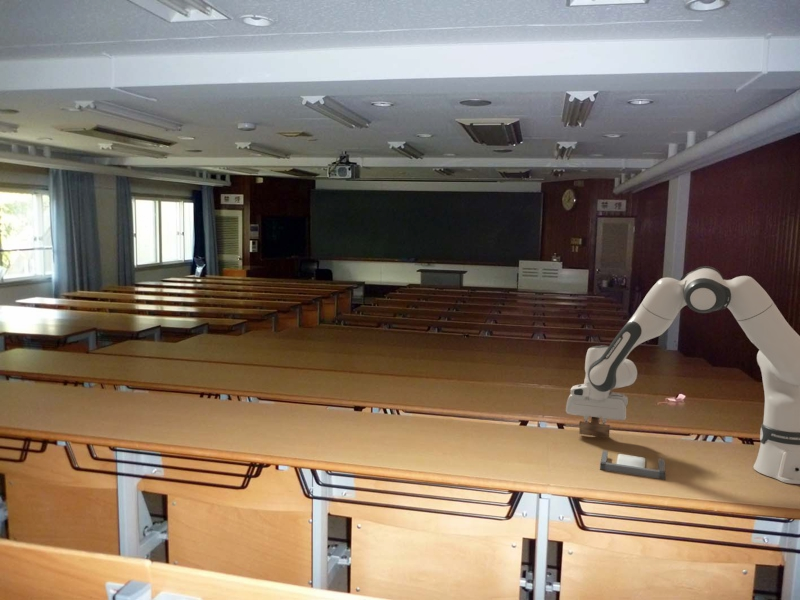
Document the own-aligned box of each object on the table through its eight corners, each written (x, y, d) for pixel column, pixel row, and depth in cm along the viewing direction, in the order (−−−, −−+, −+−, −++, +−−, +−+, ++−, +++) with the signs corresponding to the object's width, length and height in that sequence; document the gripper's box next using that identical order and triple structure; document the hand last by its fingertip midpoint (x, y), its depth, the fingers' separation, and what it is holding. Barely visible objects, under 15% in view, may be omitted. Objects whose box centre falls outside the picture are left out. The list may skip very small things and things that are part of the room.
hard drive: (644, 470, 183) (645, 457, 194) (615, 465, 186) (617, 453, 197) (644, 475, 183) (645, 462, 194) (615, 471, 186) (617, 458, 197)
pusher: (610, 423, 220) (610, 413, 217) (609, 437, 214) (609, 427, 212) (581, 419, 224) (581, 409, 221) (579, 433, 218) (579, 423, 215)
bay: (663, 465, 190) (663, 459, 190) (664, 479, 179) (665, 472, 178) (602, 456, 197) (602, 450, 196) (600, 469, 185) (600, 463, 185)
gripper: (628, 392, 215) (626, 430, 216) (568, 385, 223) (566, 423, 224) (628, 396, 209) (625, 435, 211) (566, 389, 217) (564, 427, 218)
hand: (594, 429), depth 217 cm, fingers closed on pusher, 2 cm apart
